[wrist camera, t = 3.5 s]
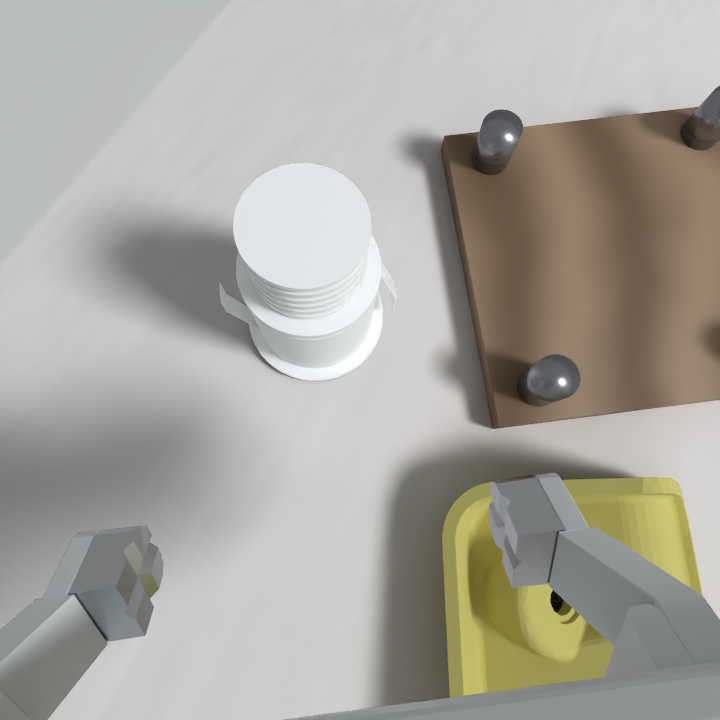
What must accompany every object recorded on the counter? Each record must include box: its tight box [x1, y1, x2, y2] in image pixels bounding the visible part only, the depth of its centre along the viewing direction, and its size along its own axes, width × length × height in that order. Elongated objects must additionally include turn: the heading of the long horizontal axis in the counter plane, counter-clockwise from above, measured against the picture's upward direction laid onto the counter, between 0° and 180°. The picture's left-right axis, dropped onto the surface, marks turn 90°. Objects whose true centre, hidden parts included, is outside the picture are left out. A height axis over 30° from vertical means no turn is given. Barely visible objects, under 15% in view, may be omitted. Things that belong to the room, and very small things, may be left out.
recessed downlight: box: [219, 163, 397, 381], centre depth 21 cm, size 8×7×10 cm
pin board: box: [441, 86, 720, 429], centre depth 25 cm, size 16×16×4 cm
